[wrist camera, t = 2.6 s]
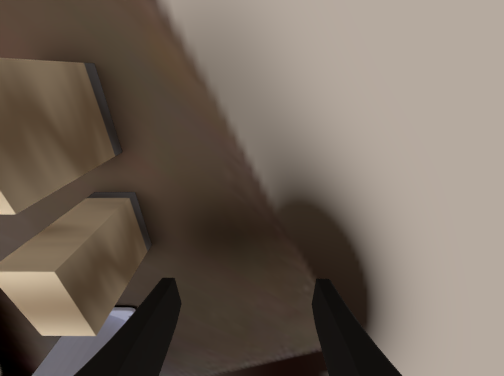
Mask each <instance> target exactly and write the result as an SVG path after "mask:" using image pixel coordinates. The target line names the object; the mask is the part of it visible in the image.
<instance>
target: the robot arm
mask: <svg viewBox="0 0 504 376" xmlns="http://www.w3.org/2000/svg"><path fill="white" fill-rule="evenodd" d="M180 307H181V300H180V296H179V292H178V289H177V285H176V281H175V278H162V279H161V280H160V281H159V283H158V284H157V285H156V286H155V288H154V289H153V290H152V291H151V293H150V294H149V295H148V296H147V298H146V299H145V300H144V301H143V302H142V304H141V305H140V306H139V307H138V308H137V310H135V309H134V308H130V307H114V308H113V309H112V311H111V313H110V314H109V316H108V318H107V319H106V321H105V323H104V324H103V326H102V327H101V329H100V331H99V332H98V334H97V336H61V338H60V339H59V340H58V342H57V343H56V344H55V346H54V347H53V348H52V350H51V351H50V352H49V354H48V355H47V356H46V358H45V359H44V360H43V362H42V363H41V365H40V366H39V367H38V369H37V370H36V371H35V373H34V374H33V375H32V376H159V373H160V371H161V368H162V365H163V362H164V359H165V356H166V353H167V351H168V348H169V345H170V342H171V339H172V336H173V333H174V330H175V328H176V324H177V320H178V316H179V312H180ZM312 309H313V315H314V320H315V326H316V330H317V334H318V337H319V341H320V345H321V348H322V352H323V355H324V359H325V363H326V366H327V370H328V373H329V376H402V375H401V374H400V373H399V371H398V370H397V369H396V368H395V367H394V366H393V365H392V363H391V362H390V361H389V360H388V359H387V358H386V356H385V355H384V354H383V353H382V351H381V350H380V349H379V348H378V347H377V345H376V344H375V343H374V342H373V340H372V339H371V338H370V337H369V335H368V334H367V333H366V331H365V330H364V329H363V327H362V326H361V325H360V323H359V322H358V321H357V319H356V318H355V316H354V315H353V314H352V312H351V311H350V310H349V308H348V307H347V305H346V304H345V302H344V301H343V299H342V298H341V296H340V295H339V293H338V292H337V290H336V289H335V287H334V285H333V284H332V282H331V280H329V279H316V284H315V290H314V295H313V300H312Z"/></svg>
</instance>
